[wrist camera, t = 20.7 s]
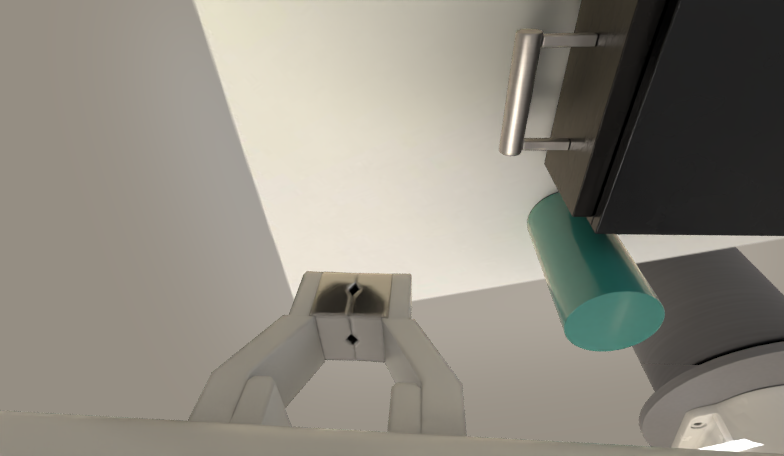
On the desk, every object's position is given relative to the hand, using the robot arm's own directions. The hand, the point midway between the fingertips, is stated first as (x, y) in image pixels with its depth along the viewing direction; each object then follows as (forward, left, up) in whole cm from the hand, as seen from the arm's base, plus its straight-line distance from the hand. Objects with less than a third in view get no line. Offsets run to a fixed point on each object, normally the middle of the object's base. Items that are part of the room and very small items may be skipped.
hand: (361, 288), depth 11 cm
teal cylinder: (-12, -14, -20) cm, 27 cm away
